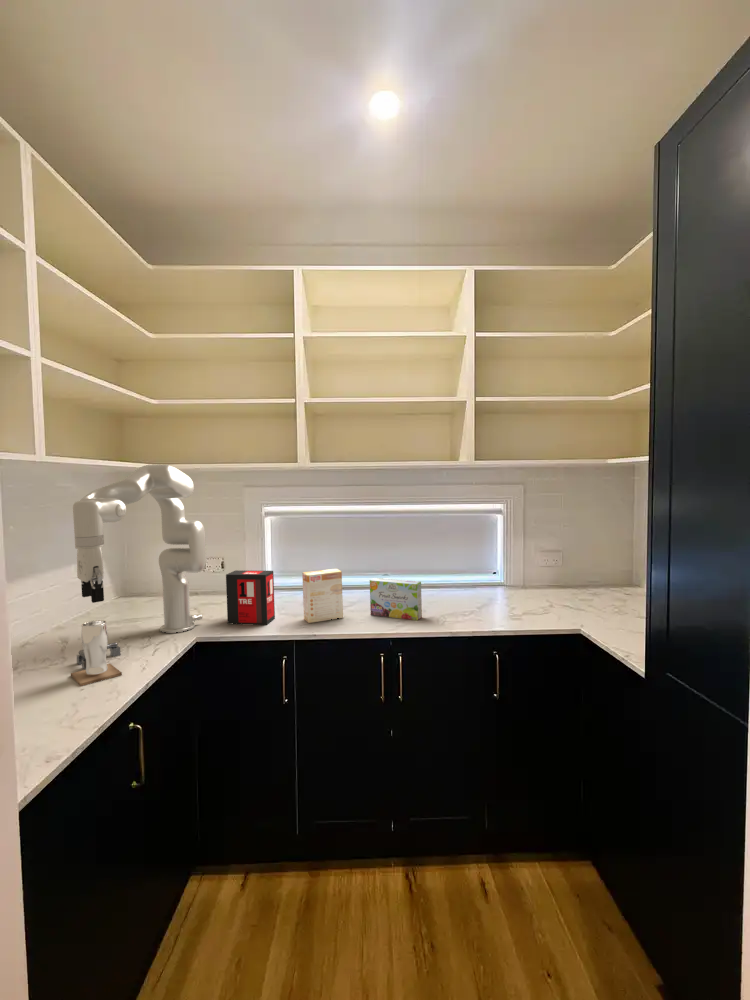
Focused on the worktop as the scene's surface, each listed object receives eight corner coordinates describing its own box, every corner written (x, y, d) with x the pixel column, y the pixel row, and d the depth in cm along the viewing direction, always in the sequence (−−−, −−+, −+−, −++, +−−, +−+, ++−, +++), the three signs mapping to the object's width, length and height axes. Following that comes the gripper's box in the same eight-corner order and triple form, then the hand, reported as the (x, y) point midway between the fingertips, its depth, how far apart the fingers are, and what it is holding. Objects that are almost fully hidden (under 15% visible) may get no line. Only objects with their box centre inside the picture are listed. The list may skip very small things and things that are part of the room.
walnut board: (110, 665, 162) (109, 663, 162) (121, 675, 154) (121, 672, 154) (70, 675, 154) (70, 673, 154) (80, 686, 146) (80, 683, 146)
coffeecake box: (337, 614, 216) (336, 568, 215) (343, 618, 210) (342, 570, 209) (303, 619, 210) (301, 571, 209) (308, 623, 203) (307, 574, 202)
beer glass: (113, 667, 158) (111, 619, 157) (103, 676, 151) (100, 626, 150) (90, 668, 158) (88, 620, 157) (78, 677, 151) (76, 627, 150)
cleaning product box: (227, 624, 205) (225, 574, 204) (237, 617, 214) (235, 570, 213) (267, 625, 203) (265, 574, 202) (274, 618, 211) (273, 570, 210)
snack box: (369, 615, 213) (368, 579, 212) (375, 612, 218) (374, 577, 217) (417, 621, 203) (417, 583, 203) (422, 617, 209) (421, 580, 208)
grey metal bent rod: (118, 653, 173) (117, 640, 173) (126, 659, 167) (126, 646, 167) (76, 663, 165) (76, 650, 164) (84, 670, 159) (83, 656, 158)
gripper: (67, 541, 156) (71, 596, 157) (83, 546, 143) (87, 606, 144) (94, 538, 161) (97, 592, 162) (112, 543, 148) (115, 601, 149)
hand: (92, 598), depth 153 cm, fingers open, 9 cm apart
